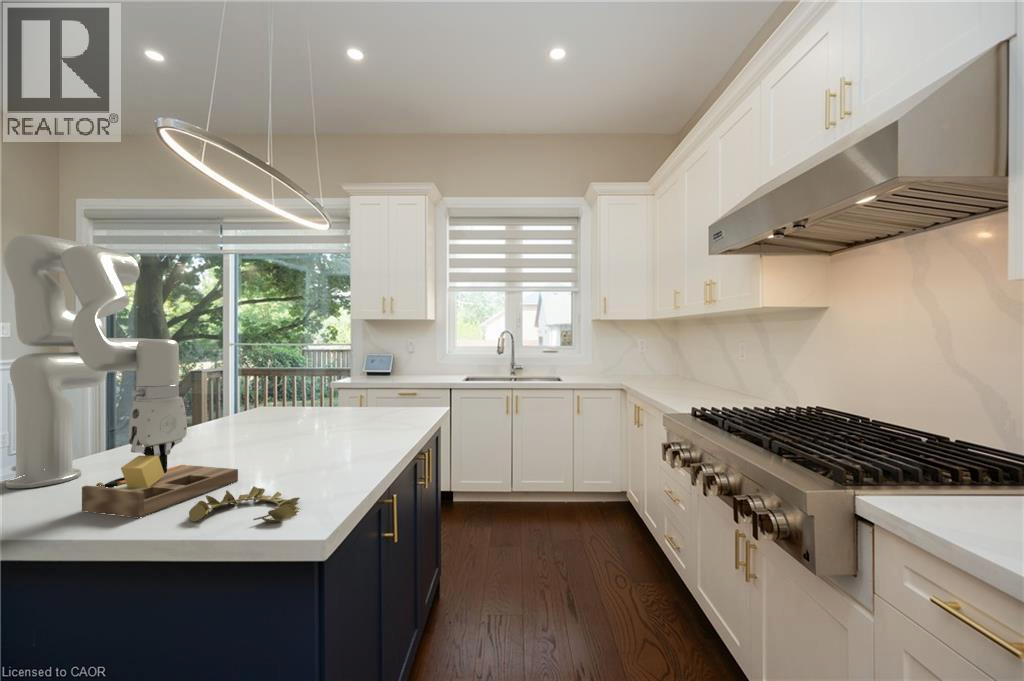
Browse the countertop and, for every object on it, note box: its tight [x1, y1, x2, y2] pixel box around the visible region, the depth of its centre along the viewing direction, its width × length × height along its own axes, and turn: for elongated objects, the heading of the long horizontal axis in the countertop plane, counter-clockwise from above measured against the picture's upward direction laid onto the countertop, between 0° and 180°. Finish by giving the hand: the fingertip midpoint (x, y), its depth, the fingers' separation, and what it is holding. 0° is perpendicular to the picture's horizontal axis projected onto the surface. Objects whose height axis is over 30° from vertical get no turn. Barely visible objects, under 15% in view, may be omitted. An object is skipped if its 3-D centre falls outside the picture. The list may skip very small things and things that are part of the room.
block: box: [120, 455, 165, 488], centre depth 94 cm, size 4×4×5 cm
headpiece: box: [188, 486, 301, 523], centre depth 89 cm, size 21×4×15 cm
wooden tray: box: [81, 464, 239, 519], centre depth 97 cm, size 15×23×5 cm, turn 167°
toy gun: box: [95, 464, 188, 488], centre depth 108 cm, size 15×2×10 cm
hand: (157, 473), depth 98 cm, fingers closed
